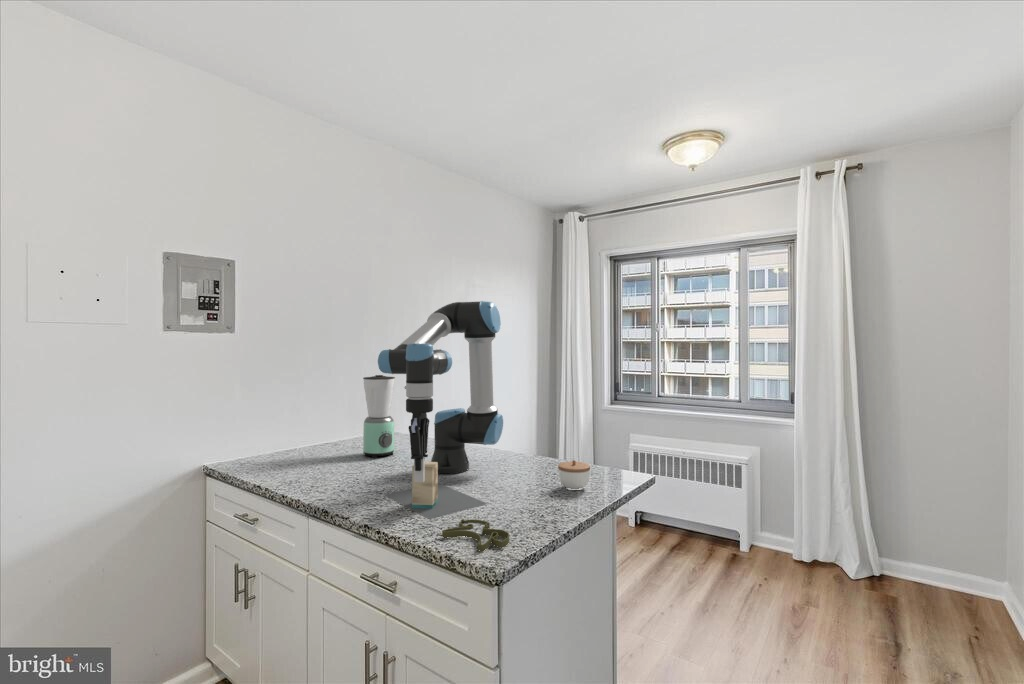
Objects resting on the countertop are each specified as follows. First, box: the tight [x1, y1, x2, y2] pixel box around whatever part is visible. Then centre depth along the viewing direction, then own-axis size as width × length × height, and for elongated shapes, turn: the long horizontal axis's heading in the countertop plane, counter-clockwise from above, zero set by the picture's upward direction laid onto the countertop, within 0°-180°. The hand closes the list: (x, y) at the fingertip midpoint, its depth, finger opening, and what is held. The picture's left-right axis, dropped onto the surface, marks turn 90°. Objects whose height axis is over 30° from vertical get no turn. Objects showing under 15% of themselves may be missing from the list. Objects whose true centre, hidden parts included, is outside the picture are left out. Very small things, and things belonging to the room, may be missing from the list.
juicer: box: [362, 374, 396, 459], centre depth 213 cm, size 19×13×35 cm
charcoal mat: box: [384, 482, 488, 520], centre depth 148 cm, size 20×28×1 cm
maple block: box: [411, 461, 439, 509], centre depth 143 cm, size 6×6×12 cm
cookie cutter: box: [441, 519, 510, 552], centre depth 121 cm, size 18×12×2 cm, turn 50°
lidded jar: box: [557, 459, 591, 489], centre depth 163 cm, size 11×11×9 cm
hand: (419, 481), depth 136 cm, fingers closed
